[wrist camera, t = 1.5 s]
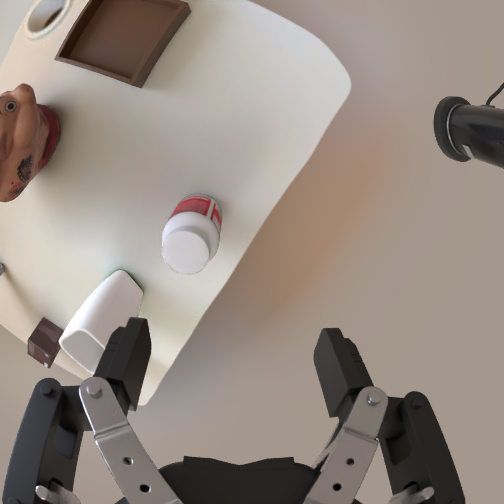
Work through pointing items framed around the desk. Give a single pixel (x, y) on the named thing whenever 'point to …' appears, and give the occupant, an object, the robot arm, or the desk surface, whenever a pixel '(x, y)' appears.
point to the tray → (122, 37)
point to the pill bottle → (192, 234)
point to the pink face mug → (24, 139)
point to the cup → (101, 319)
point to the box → (45, 342)
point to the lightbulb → (1, 268)
